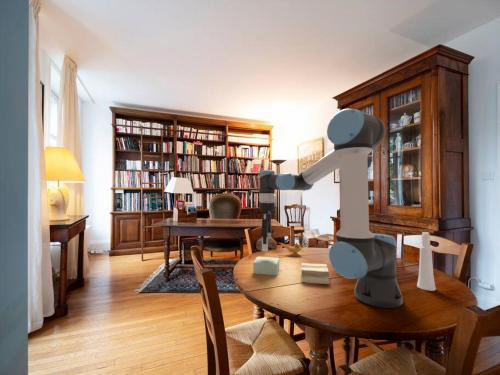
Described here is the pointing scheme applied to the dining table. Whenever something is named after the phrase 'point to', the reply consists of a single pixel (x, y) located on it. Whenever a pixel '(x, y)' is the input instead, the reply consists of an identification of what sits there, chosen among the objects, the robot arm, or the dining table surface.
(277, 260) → the green block
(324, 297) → the dining table surface
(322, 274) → the beech block
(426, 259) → the cosmetic bottle
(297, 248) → the magic lamp
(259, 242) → the brown domed lump
